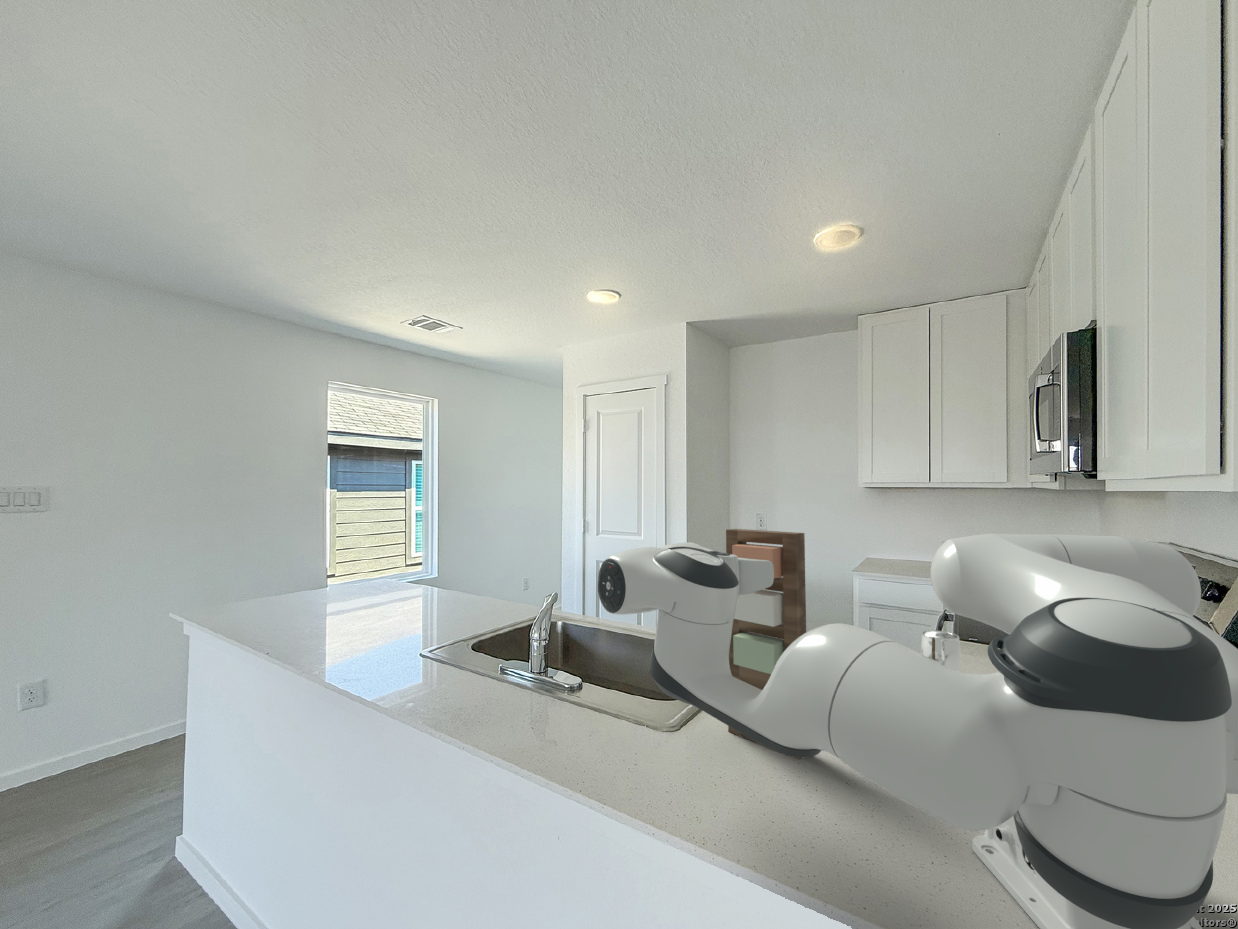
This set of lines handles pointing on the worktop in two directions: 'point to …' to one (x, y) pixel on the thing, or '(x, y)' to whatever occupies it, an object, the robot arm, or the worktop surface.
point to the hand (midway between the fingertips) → (736, 563)
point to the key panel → (788, 584)
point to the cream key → (761, 608)
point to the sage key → (757, 651)
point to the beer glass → (942, 648)
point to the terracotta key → (761, 555)
